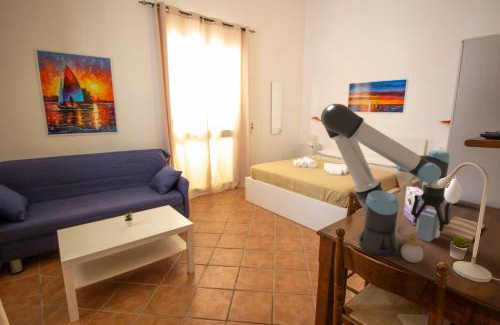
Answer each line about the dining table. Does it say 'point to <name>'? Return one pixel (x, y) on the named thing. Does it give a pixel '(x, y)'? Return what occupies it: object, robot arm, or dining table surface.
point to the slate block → (427, 225)
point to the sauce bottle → (453, 191)
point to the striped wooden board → (461, 228)
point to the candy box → (412, 203)
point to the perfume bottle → (410, 247)
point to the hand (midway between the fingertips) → (427, 233)
